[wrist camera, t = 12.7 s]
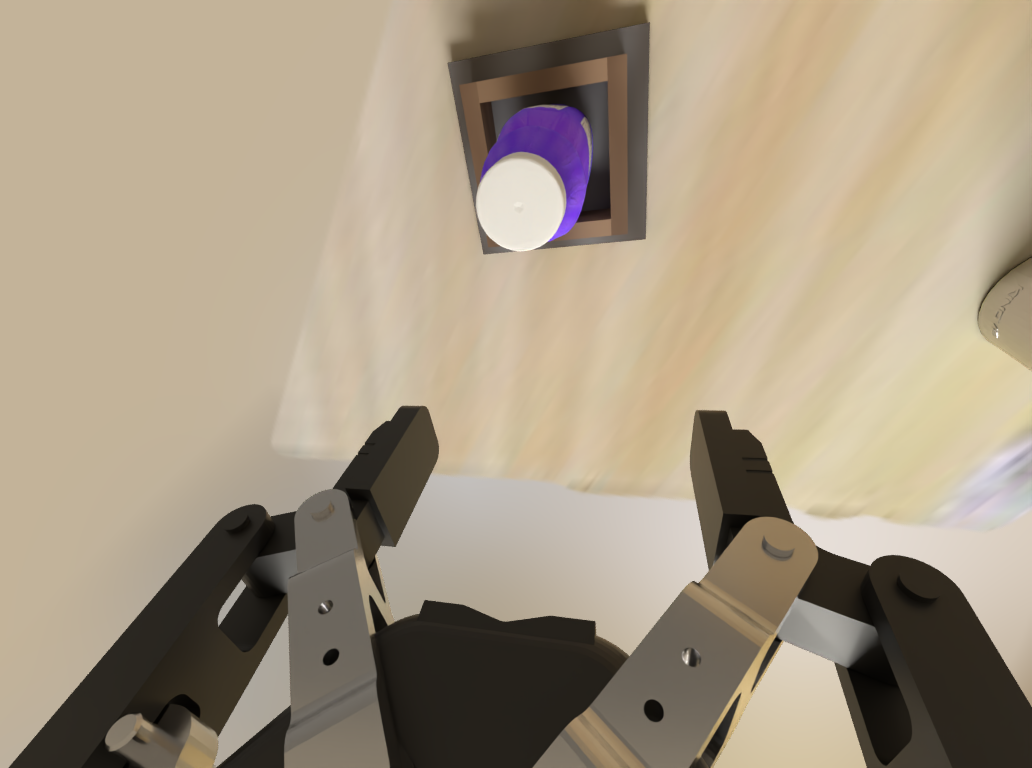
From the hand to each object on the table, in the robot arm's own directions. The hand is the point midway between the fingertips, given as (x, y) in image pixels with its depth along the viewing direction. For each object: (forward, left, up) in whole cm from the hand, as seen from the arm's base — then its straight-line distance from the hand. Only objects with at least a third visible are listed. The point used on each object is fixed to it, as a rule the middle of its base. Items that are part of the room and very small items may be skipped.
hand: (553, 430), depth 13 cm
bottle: (+2, -4, -28) cm, 28 cm away
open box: (+2, -4, -29) cm, 29 cm away
